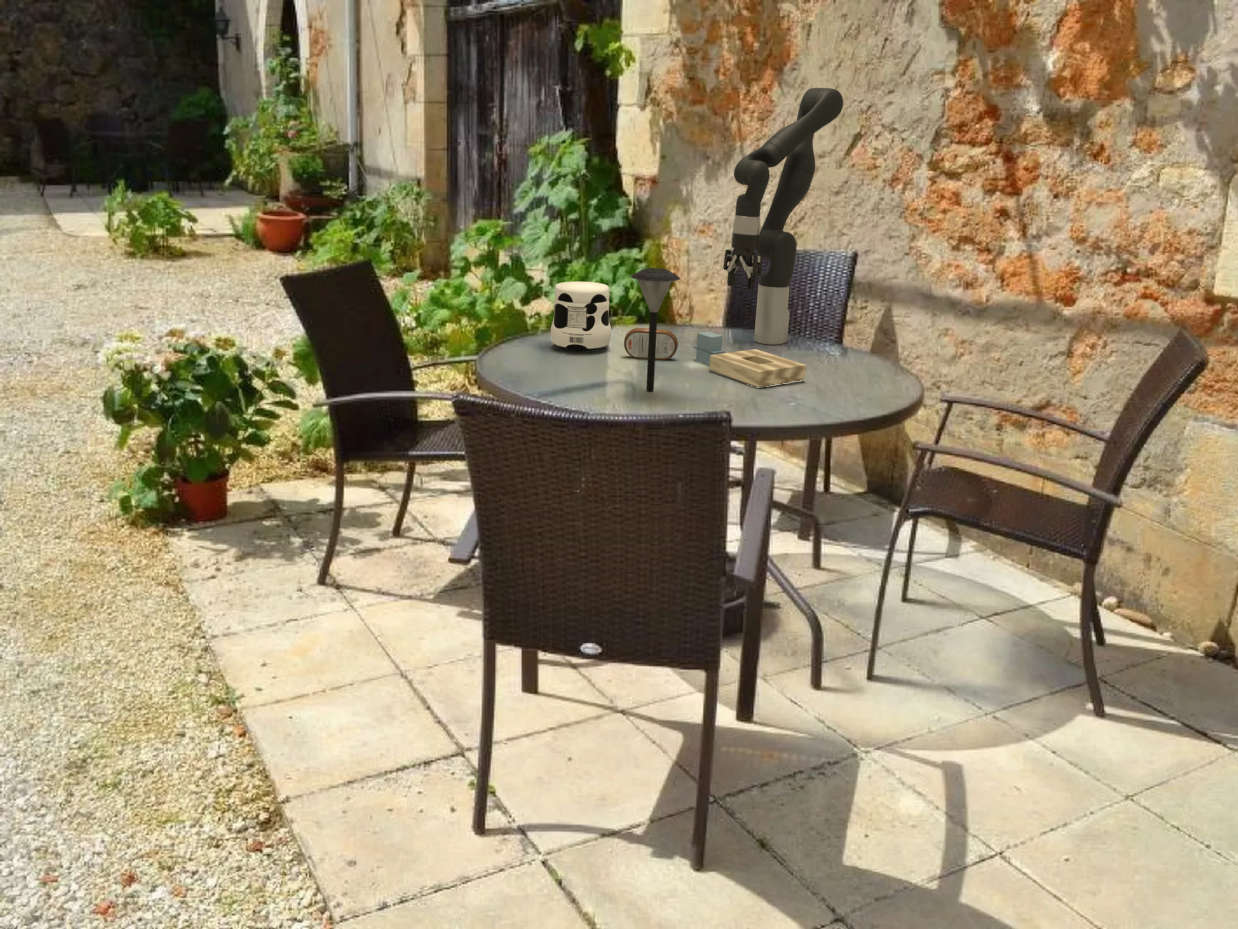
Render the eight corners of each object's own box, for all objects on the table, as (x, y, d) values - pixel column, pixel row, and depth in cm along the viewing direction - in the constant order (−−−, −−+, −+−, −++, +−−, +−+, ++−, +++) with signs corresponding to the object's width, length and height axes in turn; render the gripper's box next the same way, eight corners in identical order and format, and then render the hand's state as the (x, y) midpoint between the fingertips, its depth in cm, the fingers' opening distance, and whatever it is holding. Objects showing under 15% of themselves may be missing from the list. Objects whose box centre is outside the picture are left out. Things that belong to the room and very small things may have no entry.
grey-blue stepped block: (703, 358, 303) (705, 330, 300) (724, 365, 296) (726, 337, 294) (692, 360, 301) (694, 331, 298) (712, 367, 294) (714, 338, 291)
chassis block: (754, 365, 298) (755, 349, 296) (804, 381, 282) (806, 365, 281) (709, 371, 289) (710, 355, 288) (758, 388, 274) (759, 371, 272)
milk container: (591, 339, 321) (593, 279, 315) (621, 352, 307) (624, 289, 301) (540, 344, 312) (540, 282, 306) (568, 357, 298) (569, 293, 292)
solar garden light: (679, 397, 263) (686, 274, 254) (630, 397, 261) (635, 274, 252) (668, 384, 275) (675, 266, 265) (621, 384, 273) (626, 265, 263)
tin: (677, 359, 302) (678, 329, 299) (676, 361, 299) (678, 331, 296) (623, 355, 303) (624, 326, 300) (622, 358, 300) (623, 328, 297)
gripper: (772, 235, 306) (766, 292, 311) (739, 228, 317) (734, 284, 322) (752, 235, 301) (746, 292, 306) (720, 229, 313) (714, 284, 318)
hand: (740, 288), depth 314 cm, fingers open, 8 cm apart
